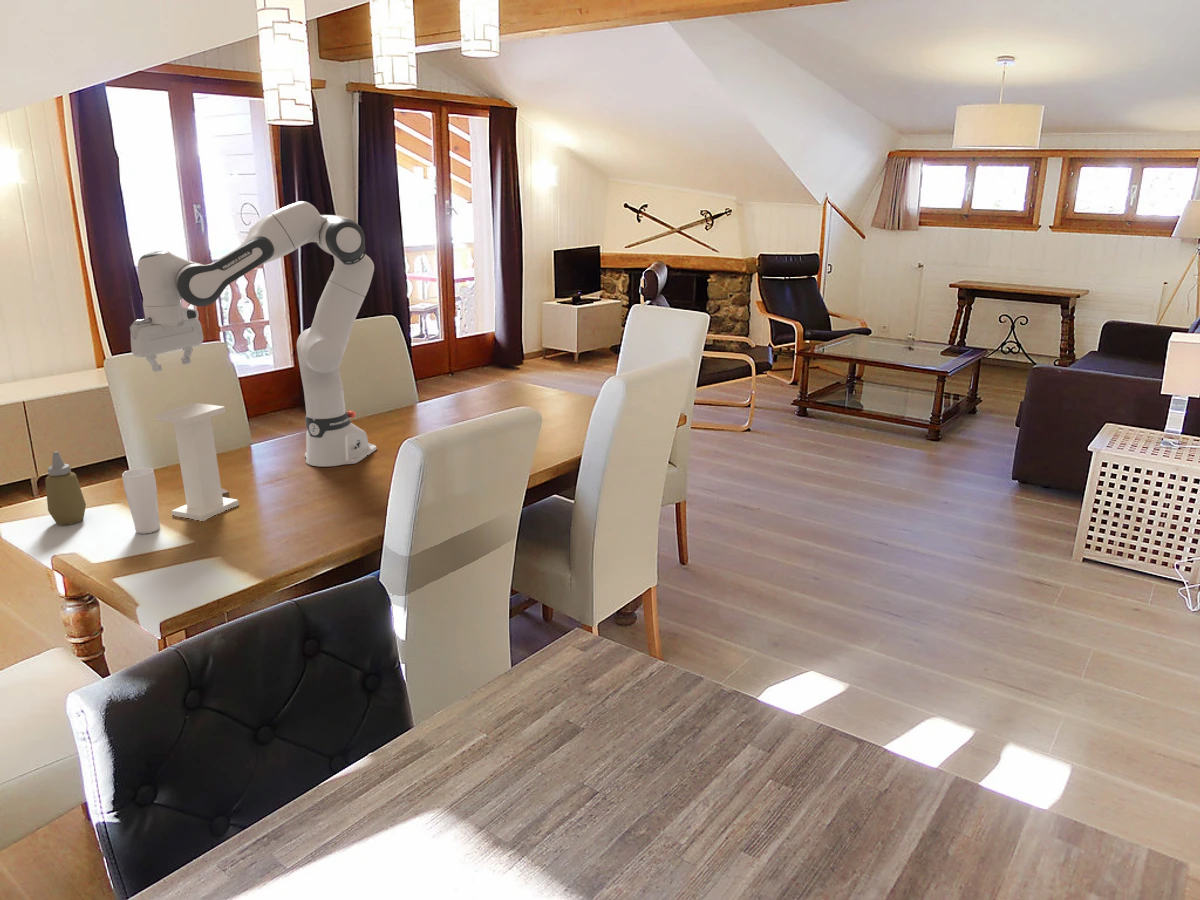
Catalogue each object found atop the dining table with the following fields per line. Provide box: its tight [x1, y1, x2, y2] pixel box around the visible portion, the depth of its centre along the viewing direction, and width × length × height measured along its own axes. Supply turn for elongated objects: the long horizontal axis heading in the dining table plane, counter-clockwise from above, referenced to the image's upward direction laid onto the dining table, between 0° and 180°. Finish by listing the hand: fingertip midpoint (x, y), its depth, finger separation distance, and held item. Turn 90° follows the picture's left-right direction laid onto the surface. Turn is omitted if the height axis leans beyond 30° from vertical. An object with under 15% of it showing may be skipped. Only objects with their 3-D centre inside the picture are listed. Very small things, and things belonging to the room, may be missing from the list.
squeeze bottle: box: [44, 451, 87, 526], centre depth 211 cm, size 8×8×18 cm
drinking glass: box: [121, 467, 161, 535], centre depth 205 cm, size 7×7×15 cm
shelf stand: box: [155, 402, 240, 522], centre depth 216 cm, size 12×10×26 cm
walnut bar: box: [221, 487, 231, 498], centre depth 233 cm, size 2×22×2 cm, turn 47°
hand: (172, 367), depth 228 cm, fingers open, 8 cm apart
